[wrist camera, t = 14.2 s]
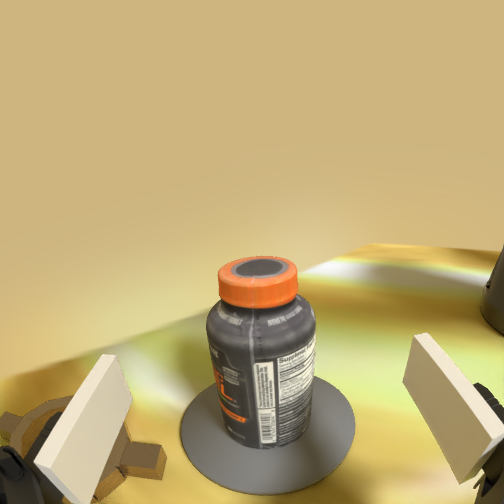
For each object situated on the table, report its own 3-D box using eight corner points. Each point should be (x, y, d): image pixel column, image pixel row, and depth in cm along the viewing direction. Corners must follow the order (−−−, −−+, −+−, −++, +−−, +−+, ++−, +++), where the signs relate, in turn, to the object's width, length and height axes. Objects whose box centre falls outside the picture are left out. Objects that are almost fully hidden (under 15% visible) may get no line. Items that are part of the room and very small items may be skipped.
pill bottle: (216, 402, 21) (192, 257, 17) (291, 384, 22) (288, 243, 19) (236, 462, 15) (207, 299, 12) (325, 435, 16) (339, 274, 13)
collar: (176, 417, 20) (172, 404, 19) (151, 530, 10) (142, 522, 10) (32, 396, 20) (26, 385, 19) (-17, 468, 10) (-27, 456, 10)
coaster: (333, 366, 24) (333, 361, 24) (374, 478, 13) (376, 474, 13) (194, 376, 24) (193, 372, 24) (170, 493, 13) (167, 490, 13)
